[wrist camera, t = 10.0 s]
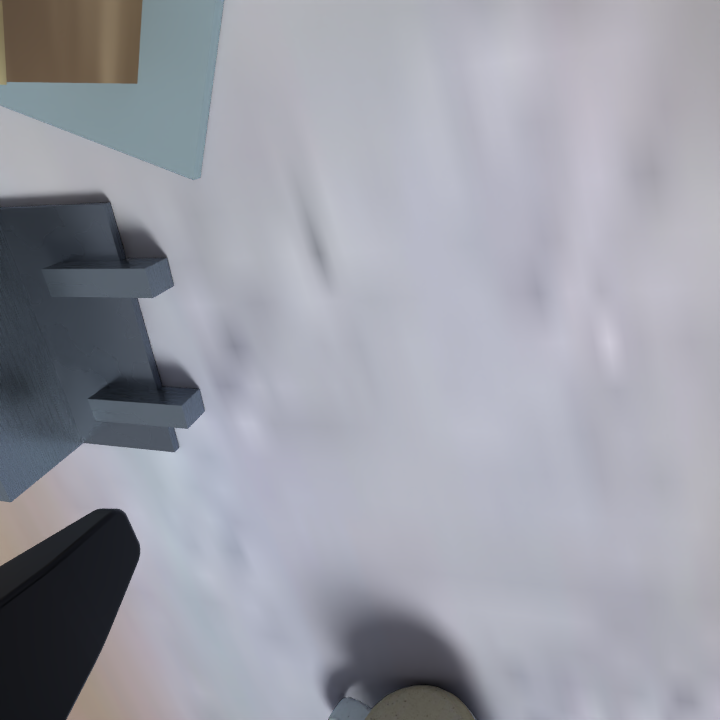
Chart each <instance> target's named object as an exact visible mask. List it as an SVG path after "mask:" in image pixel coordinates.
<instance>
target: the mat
mask: <svg viewBox="0 0 720 720" xmlns="http://www.w3.org/2000/svg"><path fill="white" fill-rule="evenodd" d="M223 4H224V0H143V2H142V18H141V34H140V51H139V67H138V83H137V84H120V83H42V82H7V85H0V106H3V107H6V108H8V109H11V110H13V111H16V112H18V113H21V114H24V115H26V116H29V117H31V118H34V119H37V120H39V121H42V122H44V123H47V124H50V125H52V126H55V127H57V128H60V129H63V130H65V131H68V132H70V133H73V134H75V135H78V136H81V137H83V138H86V139H88V140H91V141H94V142H96V143H99V144H101V145H104V146H107V147H109V148H112V149H114V150H117V151H120V152H122V153H125V154H127V155H130V156H132V157H135V158H138V159H140V160H143V161H145V162H148V163H151V164H153V165H156V166H158V167H161V168H164V169H166V170H169V171H171V172H174V173H177V174H179V175H182V176H184V177H187V178H189V179H192V180H195V179H198V178H200V176H201V168H202V161H203V153H204V146H205V138H206V131H207V123H208V116H209V108H210V101H211V94H212V86H213V79H214V71H215V64H216V56H217V49H218V41H219V34H220V26H221V19H222V11H223Z"/></svg>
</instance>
